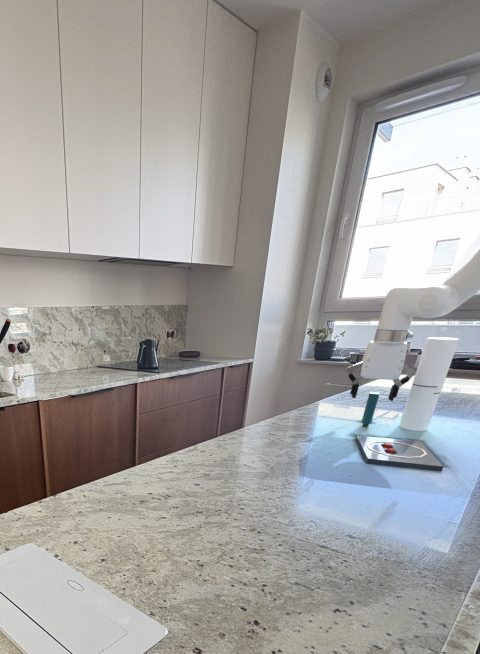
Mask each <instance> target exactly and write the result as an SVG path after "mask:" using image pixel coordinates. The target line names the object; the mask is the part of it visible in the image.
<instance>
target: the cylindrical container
mask: <svg viewBox="0 0 480 654" xmlns="http://www.w3.org/2000/svg"><path fill="white" fill-rule="evenodd" d="M459 341H460V338H457V337H443V336H442V337H441V336H439V337H438V336H437V337H436V336H433V337H432V336H431V337H427V338H426V340H425V343H424V347H423V350H422V352H421V357H420V359H419V362H418V365H417V368H416V370H415V371H416V374H415V375H414V376H413V380H412V384H411V387H410V389H409V393H408V396H407V399H406V401H405V406H404V409H403V412H402V414H401V418H400V421H399V424H398V427H399V428H400V429H404V430H408V431H412V432H413V431H414V432H424V431H428V429H429V426H430V423H431V421H432V418H433V414H434V412H435V409H436V407H437V404H438V401H439V398H440V395H441V392H442V389H443V387H444V383H445V381H446V378H447V376H448V372H449V370H450V367H451V364H452V361H453V358H454V355H455V352H456V350H457V347H458V344H459Z"/></svg>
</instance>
